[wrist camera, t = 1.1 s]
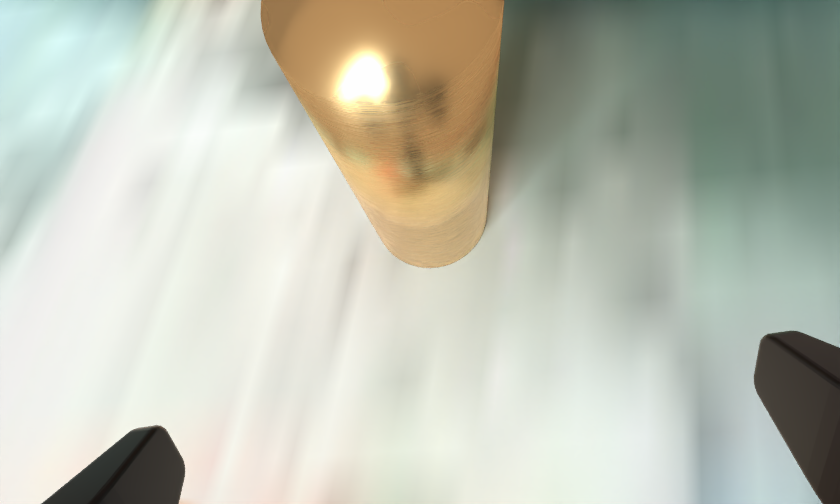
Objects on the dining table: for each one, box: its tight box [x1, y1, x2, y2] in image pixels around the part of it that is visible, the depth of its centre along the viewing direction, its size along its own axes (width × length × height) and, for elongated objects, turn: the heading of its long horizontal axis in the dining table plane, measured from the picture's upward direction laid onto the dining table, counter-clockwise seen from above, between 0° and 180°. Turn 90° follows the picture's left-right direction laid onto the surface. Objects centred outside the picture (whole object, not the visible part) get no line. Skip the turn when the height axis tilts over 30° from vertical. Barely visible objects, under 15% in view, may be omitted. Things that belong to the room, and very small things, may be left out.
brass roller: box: [261, 0, 504, 268], centre depth 16 cm, size 5×5×13 cm
